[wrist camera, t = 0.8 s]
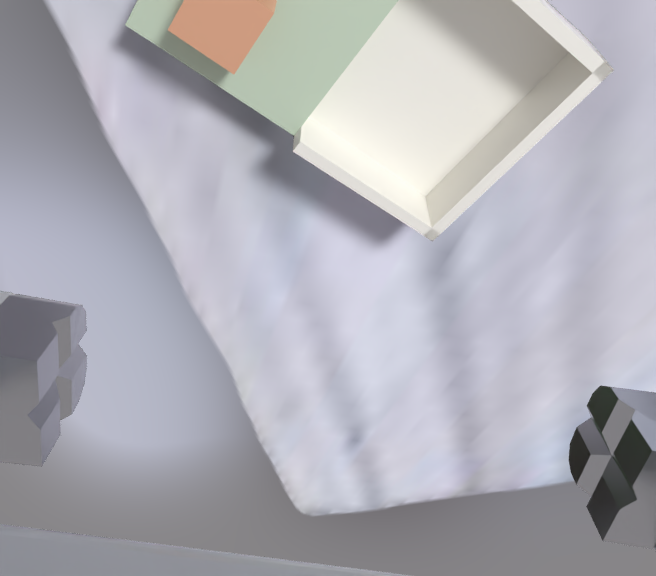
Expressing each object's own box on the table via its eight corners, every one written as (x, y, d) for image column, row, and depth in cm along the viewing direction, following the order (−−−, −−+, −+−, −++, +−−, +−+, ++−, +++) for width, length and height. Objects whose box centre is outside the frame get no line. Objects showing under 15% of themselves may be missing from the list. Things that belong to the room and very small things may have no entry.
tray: (451, -88, 41) (464, -69, 37) (589, 40, 46) (614, 70, 42) (295, 118, 51) (292, 151, 47) (425, 204, 56) (432, 241, 52)
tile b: (211, -49, 40) (204, -38, 38) (277, 0, 42) (274, 13, 40) (174, 17, 43) (167, 30, 41) (238, 60, 45) (234, 74, 43)
